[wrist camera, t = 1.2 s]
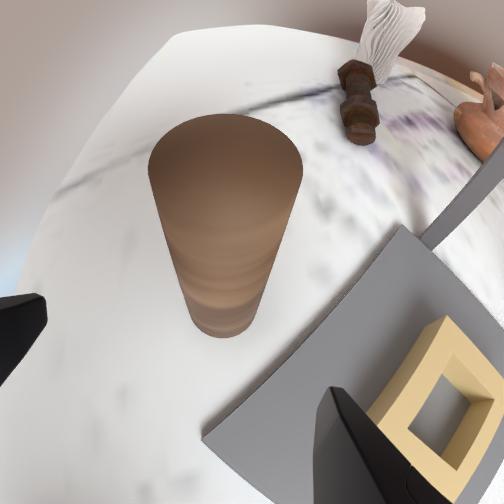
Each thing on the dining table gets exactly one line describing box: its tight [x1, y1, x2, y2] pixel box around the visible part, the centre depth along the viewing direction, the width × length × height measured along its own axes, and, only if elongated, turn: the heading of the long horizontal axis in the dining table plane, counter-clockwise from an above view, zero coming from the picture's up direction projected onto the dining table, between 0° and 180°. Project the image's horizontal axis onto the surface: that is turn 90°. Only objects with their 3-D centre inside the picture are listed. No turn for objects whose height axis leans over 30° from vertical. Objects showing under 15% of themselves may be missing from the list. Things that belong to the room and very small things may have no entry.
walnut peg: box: [148, 114, 303, 338], centre depth 15 cm, size 5×5×14 cm
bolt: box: [338, 60, 380, 146], centre depth 33 cm, size 6×5×15 cm
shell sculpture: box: [355, 0, 425, 84], centre depth 33 cm, size 8×8×18 cm
